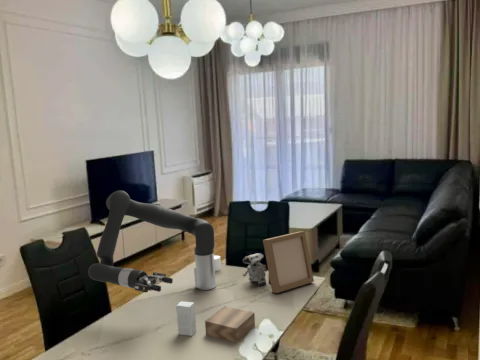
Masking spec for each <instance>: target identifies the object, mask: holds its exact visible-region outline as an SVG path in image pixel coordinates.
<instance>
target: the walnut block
mask: <svg viewBox="0 0 480 360" xmlns="http://www.w3.org/2000/svg"><path fill="white" fill-rule="evenodd" d="M255 318H256V315H255V312H254V311H249V310H244V309H239V308H234V307H230V306H225V305H224V306H223V307H221V308H220V309H218V310H217V312H215V313H213V314H212V315H211V316H210V317H209V318H207V319H206V320H205V321H204V324H205V325H204V329H205V336H208V337H213V338H216V339H220V340H224V341H229V342H233V343H237V344H238V343H239V342H240V341H241V340H242V339H243V338H244V337H246V335H248V333H249V332H250V331H252V330H253V329H254V328H255V327H256V319H255Z"/></svg>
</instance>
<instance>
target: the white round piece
mask: <svg viewBox="0 0 480 360" xmlns="http://www.w3.org/2000/svg"><path fill="white" fill-rule="evenodd" d="M221 261H222V260H221V256H220V255H215V254H214V264H215V272H220V271H221Z"/></svg>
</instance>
